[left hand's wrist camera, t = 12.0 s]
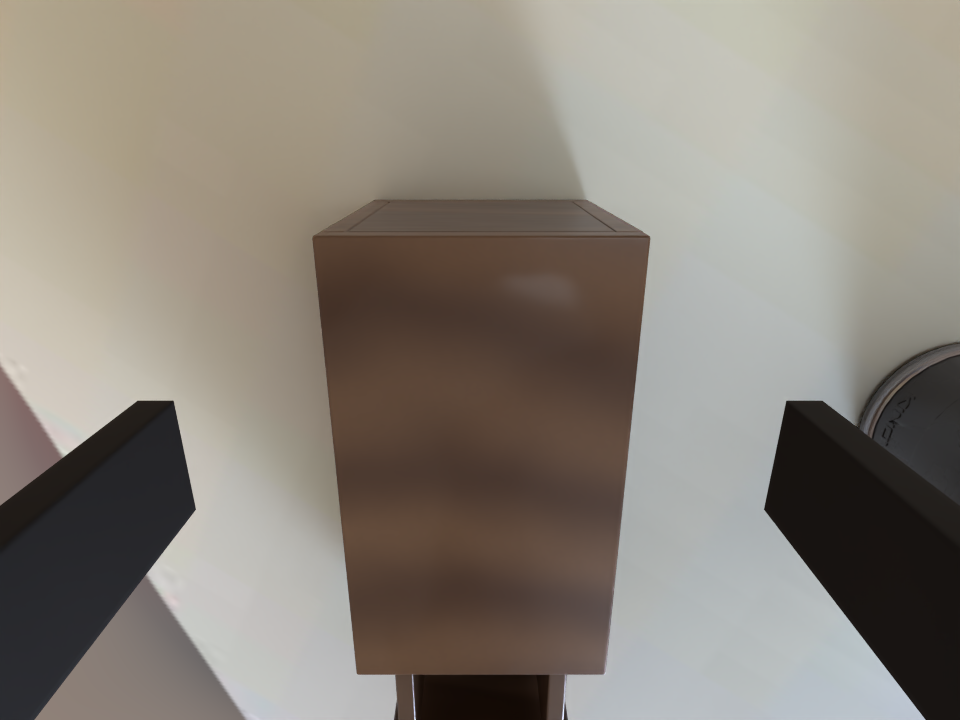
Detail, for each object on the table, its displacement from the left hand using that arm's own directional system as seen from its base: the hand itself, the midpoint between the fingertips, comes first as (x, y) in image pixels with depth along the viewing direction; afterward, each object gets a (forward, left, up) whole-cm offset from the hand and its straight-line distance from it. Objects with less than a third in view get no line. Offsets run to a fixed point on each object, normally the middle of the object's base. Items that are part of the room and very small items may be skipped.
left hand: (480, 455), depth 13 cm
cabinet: (+3, -4, -18) cm, 18 cm away
